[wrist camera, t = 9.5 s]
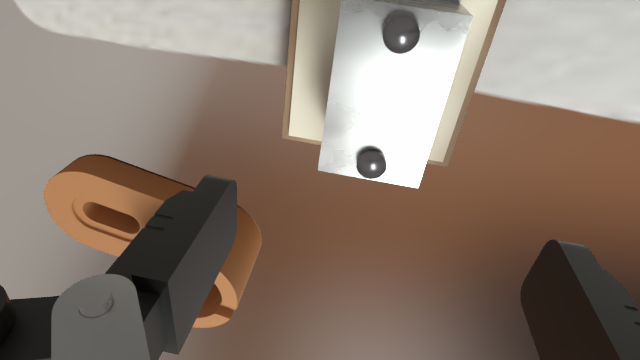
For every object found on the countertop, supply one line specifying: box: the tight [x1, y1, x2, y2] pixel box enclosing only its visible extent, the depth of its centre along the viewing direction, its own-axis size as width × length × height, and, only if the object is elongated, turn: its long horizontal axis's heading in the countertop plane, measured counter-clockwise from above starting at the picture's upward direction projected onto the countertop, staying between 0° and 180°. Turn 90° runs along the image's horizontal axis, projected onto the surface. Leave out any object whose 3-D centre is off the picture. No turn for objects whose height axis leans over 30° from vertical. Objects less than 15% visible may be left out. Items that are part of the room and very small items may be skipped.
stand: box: [282, 0, 506, 167], centre depth 23 cm, size 11×12×3 cm
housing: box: [318, 0, 473, 188], centre depth 20 cm, size 5×9×6 cm, turn 173°
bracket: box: [44, 154, 262, 328], centre depth 32 cm, size 18×8×7 cm, turn 70°
